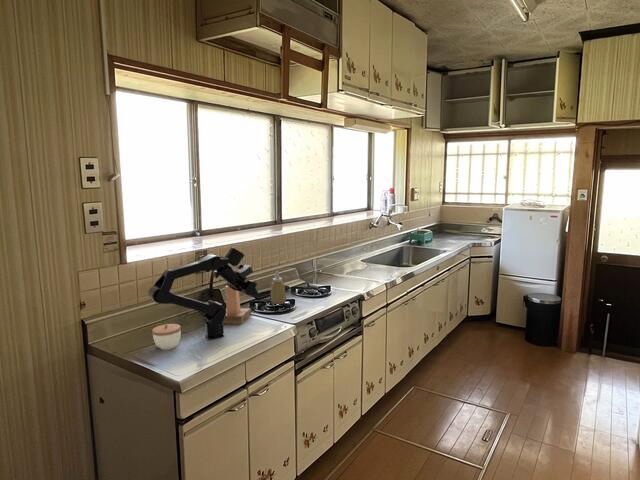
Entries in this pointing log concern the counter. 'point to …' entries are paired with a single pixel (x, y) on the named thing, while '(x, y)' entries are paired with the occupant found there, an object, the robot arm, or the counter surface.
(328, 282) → the counter surface
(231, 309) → the tall terracotta block
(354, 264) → the counter surface
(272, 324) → the counter surface
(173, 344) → the lidded jar
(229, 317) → the walnut base block
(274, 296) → the squeeze bottle
